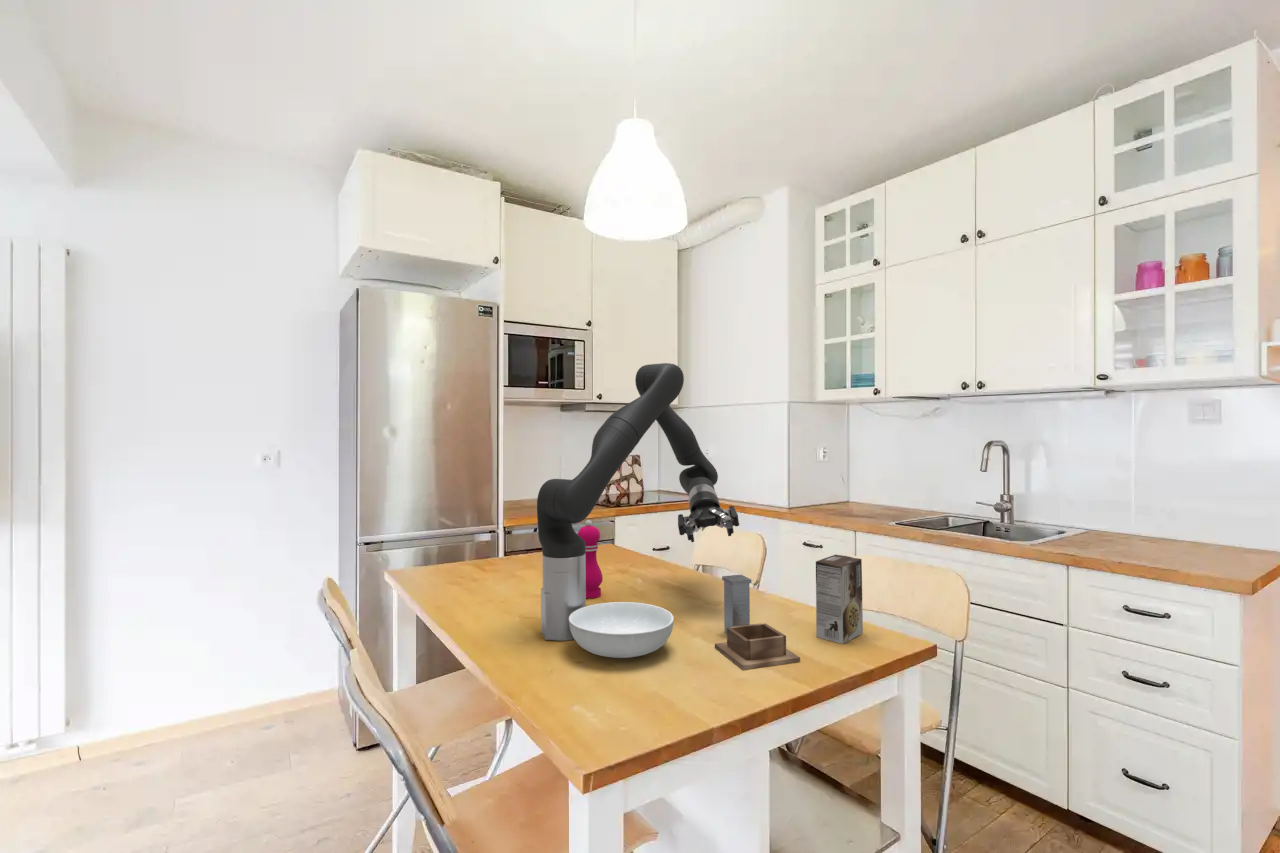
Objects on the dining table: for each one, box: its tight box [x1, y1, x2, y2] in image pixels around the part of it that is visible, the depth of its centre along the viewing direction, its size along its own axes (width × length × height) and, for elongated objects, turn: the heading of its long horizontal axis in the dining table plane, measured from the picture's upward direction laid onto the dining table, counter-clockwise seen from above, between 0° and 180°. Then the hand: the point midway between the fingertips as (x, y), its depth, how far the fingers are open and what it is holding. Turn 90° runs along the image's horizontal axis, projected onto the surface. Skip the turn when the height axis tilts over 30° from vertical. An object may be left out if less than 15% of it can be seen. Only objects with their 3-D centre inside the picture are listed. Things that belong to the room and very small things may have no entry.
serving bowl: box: [569, 601, 675, 659], centre depth 122 cm, size 21×21×7 cm
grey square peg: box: [721, 574, 752, 634], centre depth 131 cm, size 5×5×12 cm
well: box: [714, 622, 801, 671], centre depth 119 cm, size 12×12×4 cm
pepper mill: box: [577, 519, 604, 599], centre depth 162 cm, size 7×7×20 cm
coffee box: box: [815, 554, 864, 645], centre depth 129 cm, size 9×6×16 cm
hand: (710, 535), depth 139 cm, fingers open, 8 cm apart
